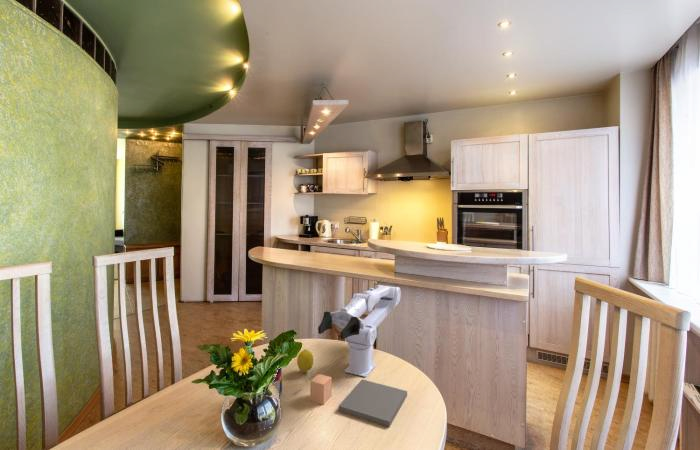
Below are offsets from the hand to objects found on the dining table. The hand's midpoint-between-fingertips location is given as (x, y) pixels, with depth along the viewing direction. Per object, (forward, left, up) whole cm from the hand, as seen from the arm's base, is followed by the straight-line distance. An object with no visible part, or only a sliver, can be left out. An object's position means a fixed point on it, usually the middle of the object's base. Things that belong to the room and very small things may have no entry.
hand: (330, 333), depth 97 cm
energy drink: (+6, -17, -20) cm, 27 cm away
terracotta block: (+1, -3, -20) cm, 20 cm away
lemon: (-10, -16, -20) cm, 28 cm away
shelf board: (-4, +12, -20) cm, 24 cm away
